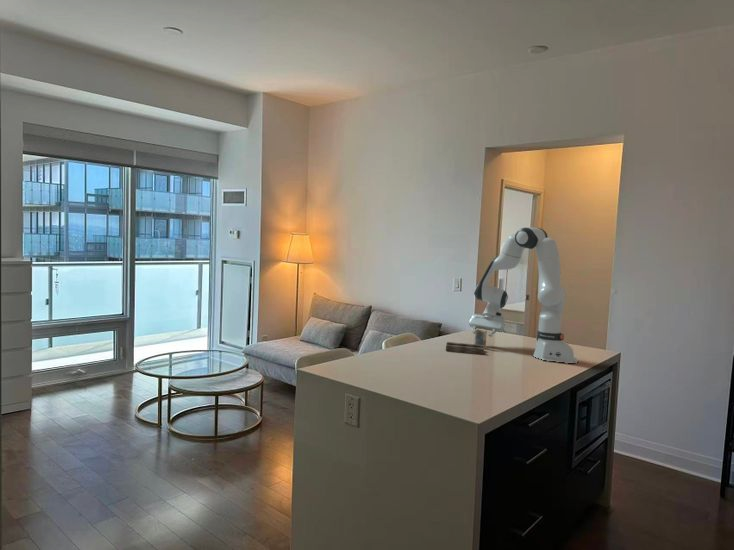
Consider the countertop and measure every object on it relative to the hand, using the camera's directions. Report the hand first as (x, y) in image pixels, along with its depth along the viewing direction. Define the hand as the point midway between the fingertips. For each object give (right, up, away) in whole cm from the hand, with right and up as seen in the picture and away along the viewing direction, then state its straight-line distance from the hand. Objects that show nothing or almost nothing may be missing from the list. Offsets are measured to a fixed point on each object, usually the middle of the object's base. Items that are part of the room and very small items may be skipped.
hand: (482, 334), depth 301 cm
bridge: (-12, -8, -11) cm, 18 cm away
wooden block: (-1, -7, -1) cm, 8 cm away
